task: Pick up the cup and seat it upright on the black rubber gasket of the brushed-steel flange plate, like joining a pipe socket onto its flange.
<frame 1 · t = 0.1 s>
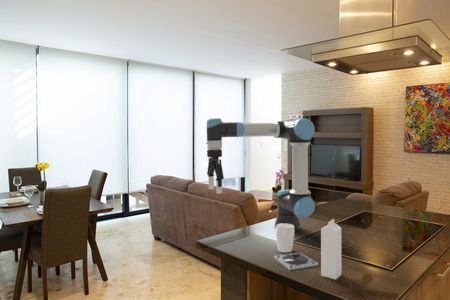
hand: (215, 191, 163), 28 cm above the kitchen island, fingers open, 13 cm apart
flange: (295, 261, 142), on the kitchen island
milk: (331, 275, 128), on the kitchen island
cup: (285, 250, 156), on the kitchen island
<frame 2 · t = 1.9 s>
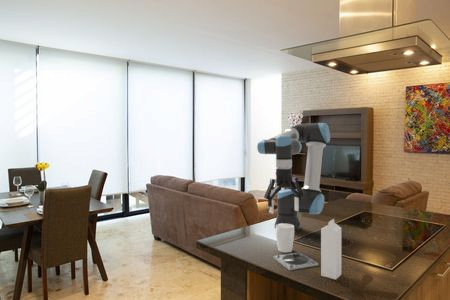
hand: (284, 212, 155), 19 cm above the kitchen island, fingers open, 13 cm apart
nothing on the kitchen island moved.
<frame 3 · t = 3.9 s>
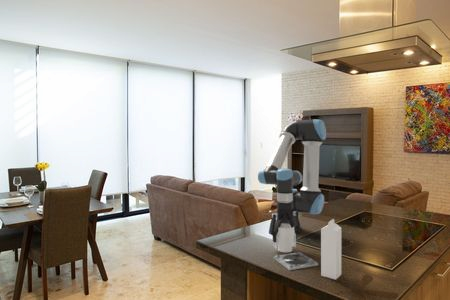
hand: (285, 247, 156), 1 cm above the kitchen island, fingers closed on cup, 9 cm apart
cup: (285, 250, 156), on the kitchen island, touching gripper
everything else where it was.
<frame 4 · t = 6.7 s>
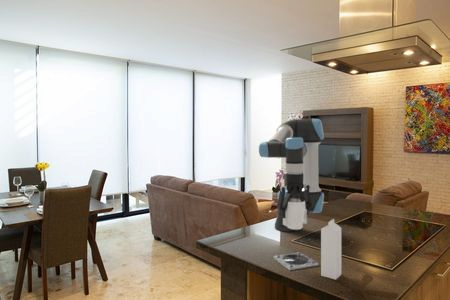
hand: (294, 224, 141), 17 cm above the kitchen island, fingers closed on cup, 9 cm apart
cup: (294, 227, 141), point 15 cm above the kitchen island, touching gripper
everything else where it was.
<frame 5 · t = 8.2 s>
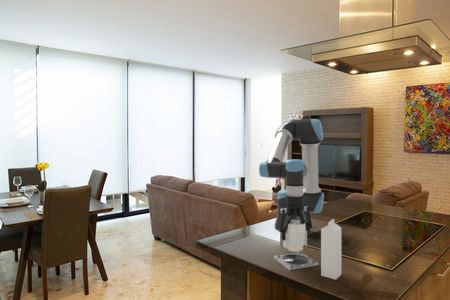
hand: (295, 245, 141), 7 cm above the kitchen island, fingers closed on cup, 9 cm apart
cup: (295, 249, 141), point 5 cm above the kitchen island, touching gripper
everything else where it was.
when the fingers open (4 cm above the kitchen island, at t = 9.4 s): cup drops 1 cm, resting on flange.
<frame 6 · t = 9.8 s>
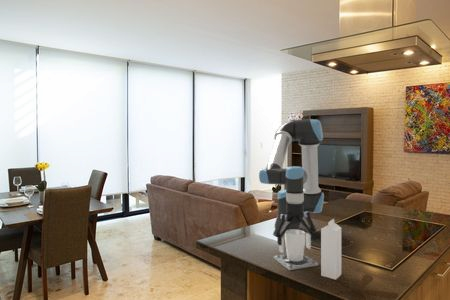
hand: (295, 250, 142), 5 cm above the kitchen island, fingers open, 13 cm apart
cup: (295, 259, 142), point 1 cm above the kitchen island, touching flange
everything else where it was.
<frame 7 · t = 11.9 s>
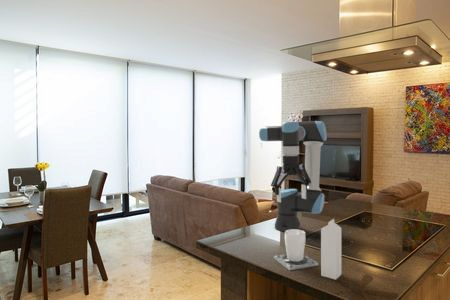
hand: (291, 200, 151), 25 cm above the kitchen island, fingers open, 13 cm apart
nothing on the kitchen island moved.
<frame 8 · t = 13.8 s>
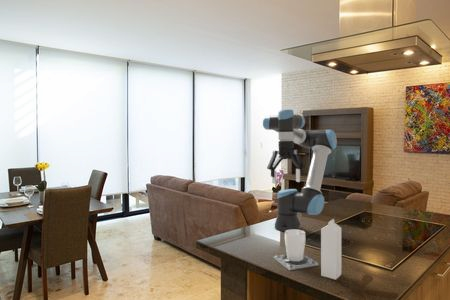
hand: (286, 182, 163), 32 cm above the kitchen island, fingers open, 13 cm apart
nothing on the kitchen island moved.
at the end: cup 0.1 cm from the flange (horizontally); cup tilted 0°; cup touching flange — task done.
